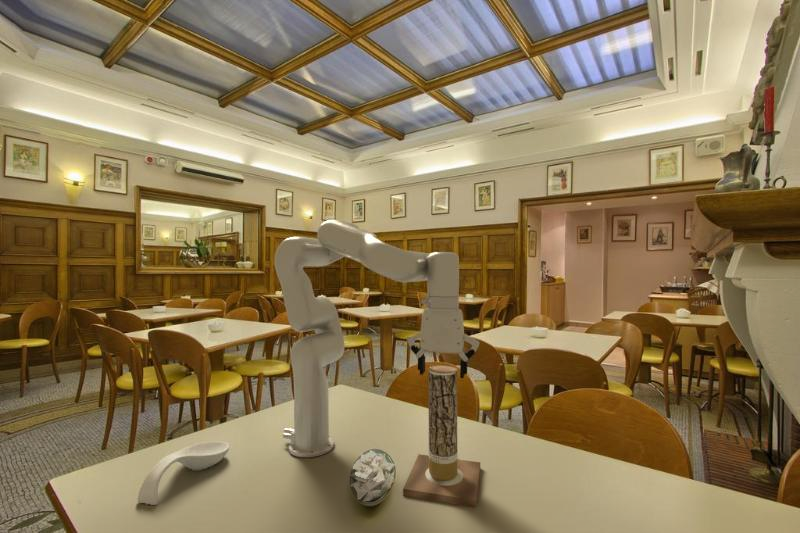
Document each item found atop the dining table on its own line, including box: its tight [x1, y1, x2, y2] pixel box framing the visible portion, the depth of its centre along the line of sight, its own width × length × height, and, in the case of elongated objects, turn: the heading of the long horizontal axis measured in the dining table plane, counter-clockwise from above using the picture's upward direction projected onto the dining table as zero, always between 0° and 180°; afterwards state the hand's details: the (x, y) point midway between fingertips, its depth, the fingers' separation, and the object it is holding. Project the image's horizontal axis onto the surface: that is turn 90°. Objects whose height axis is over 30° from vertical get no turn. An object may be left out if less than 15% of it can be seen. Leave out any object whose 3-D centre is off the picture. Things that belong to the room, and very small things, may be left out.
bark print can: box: [427, 365, 458, 481], centre depth 88 cm, size 7×7×25 cm
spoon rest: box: [137, 440, 230, 506], centre depth 91 cm, size 24×12×7 cm, turn 170°
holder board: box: [402, 453, 481, 508], centre depth 88 cm, size 16×16×2 cm
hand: (442, 375), depth 89 cm, fingers open, 9 cm apart
